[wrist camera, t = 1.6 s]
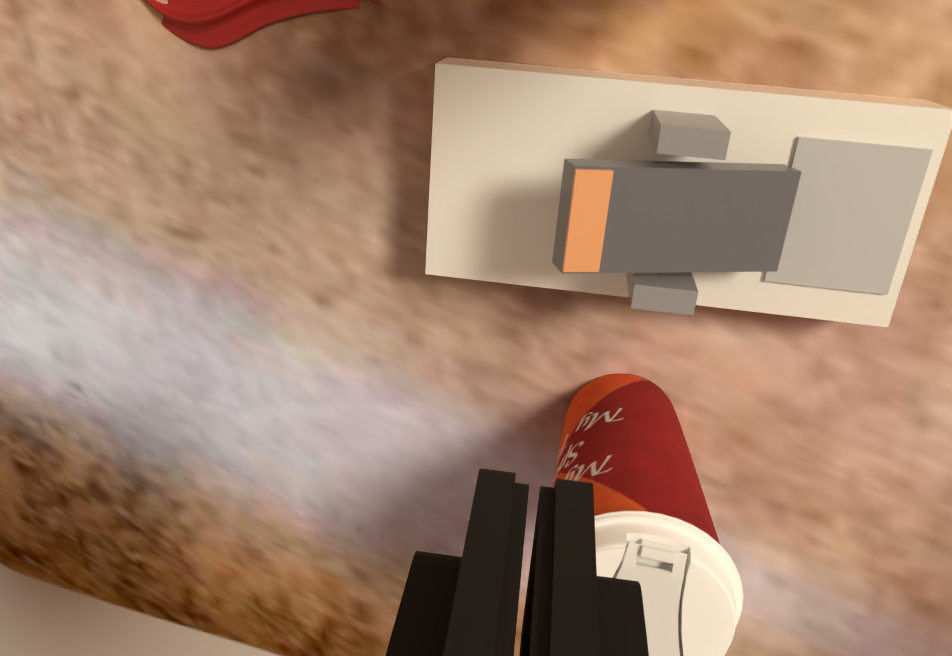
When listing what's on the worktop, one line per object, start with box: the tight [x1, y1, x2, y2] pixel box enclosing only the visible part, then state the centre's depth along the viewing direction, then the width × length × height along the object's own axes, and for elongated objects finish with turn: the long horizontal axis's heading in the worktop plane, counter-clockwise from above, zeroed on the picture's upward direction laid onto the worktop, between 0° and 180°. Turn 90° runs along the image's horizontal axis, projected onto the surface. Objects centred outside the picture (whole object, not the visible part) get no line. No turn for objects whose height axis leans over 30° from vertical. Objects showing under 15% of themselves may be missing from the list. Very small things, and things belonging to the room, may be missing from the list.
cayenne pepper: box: [145, 0, 383, 48], centre depth 34 cm, size 12×5×2 cm, turn 78°
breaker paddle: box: [552, 158, 802, 274], centre depth 29 cm, size 9×4×1 cm, turn 86°
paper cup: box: [553, 374, 743, 656], centre depth 34 cm, size 8×8×14 cm
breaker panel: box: [425, 57, 952, 327], centre depth 32 cm, size 20×9×7 cm, turn 86°
